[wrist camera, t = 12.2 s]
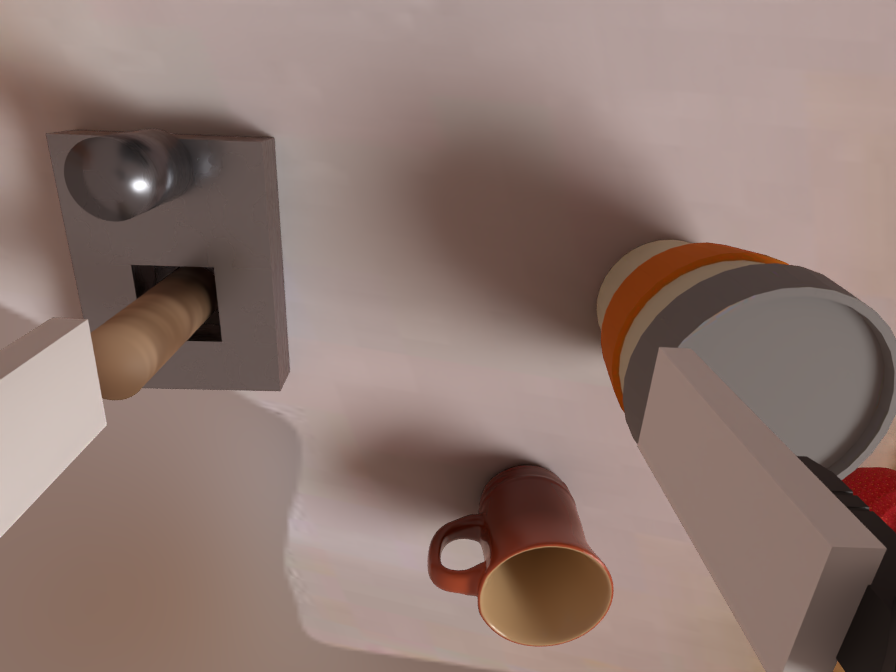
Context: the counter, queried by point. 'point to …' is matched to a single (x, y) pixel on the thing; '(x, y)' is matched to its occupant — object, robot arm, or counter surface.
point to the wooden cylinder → (151, 330)
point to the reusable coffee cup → (754, 343)
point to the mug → (528, 561)
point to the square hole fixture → (181, 242)
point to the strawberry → (876, 491)
